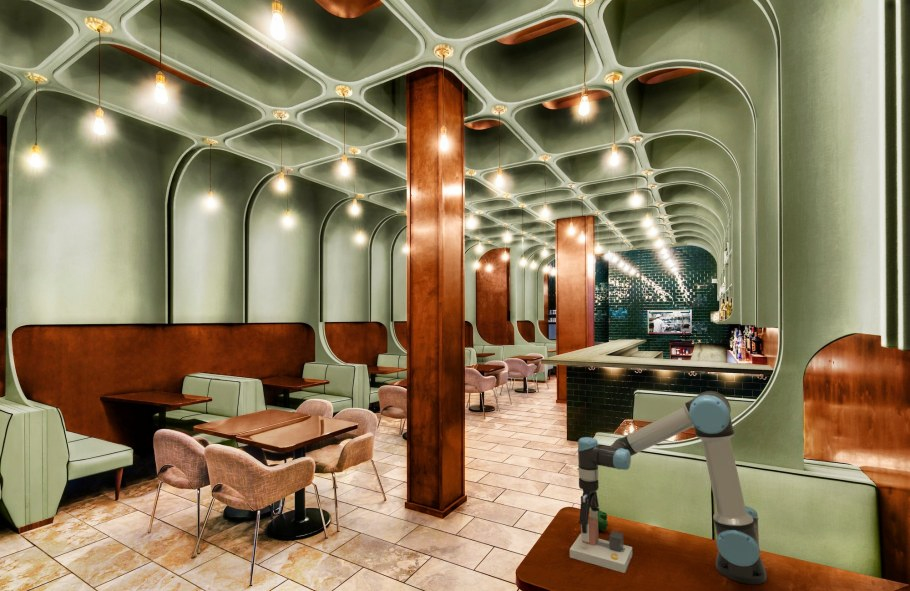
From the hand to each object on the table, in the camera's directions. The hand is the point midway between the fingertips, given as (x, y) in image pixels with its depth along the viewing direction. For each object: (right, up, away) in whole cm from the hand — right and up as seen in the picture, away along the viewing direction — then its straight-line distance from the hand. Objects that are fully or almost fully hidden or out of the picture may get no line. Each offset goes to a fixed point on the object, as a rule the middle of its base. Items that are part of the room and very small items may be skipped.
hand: (589, 533), depth 174 cm
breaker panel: (+3, -6, -5) cm, 8 cm away
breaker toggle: (+9, -2, -6) cm, 10 cm away
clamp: (+9, -7, +17) cm, 21 cm away
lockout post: (0, -3, 0) cm, 3 cm away
